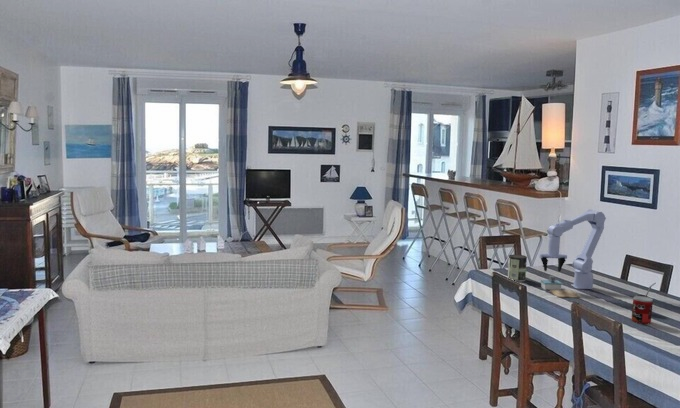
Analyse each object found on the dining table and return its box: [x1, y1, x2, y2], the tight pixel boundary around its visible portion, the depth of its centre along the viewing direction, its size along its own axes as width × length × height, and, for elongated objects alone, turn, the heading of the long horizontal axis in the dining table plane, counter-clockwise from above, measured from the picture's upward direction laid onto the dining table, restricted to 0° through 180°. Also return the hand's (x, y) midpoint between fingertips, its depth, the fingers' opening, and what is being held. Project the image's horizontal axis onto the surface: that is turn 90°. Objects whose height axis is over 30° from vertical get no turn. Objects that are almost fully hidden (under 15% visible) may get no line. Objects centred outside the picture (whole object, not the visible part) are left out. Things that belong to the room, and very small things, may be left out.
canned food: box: [631, 295, 654, 325], centre depth 260 cm, size 8×8×11 cm
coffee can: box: [507, 254, 528, 283], centre depth 333 cm, size 10×10×14 cm
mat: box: [549, 289, 581, 299], centre depth 303 cm, size 12×12×1 cm
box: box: [540, 281, 562, 291], centre depth 315 cm, size 9×6×3 cm, turn 89°
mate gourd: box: [635, 282, 657, 298], centre depth 274 cm, size 8×8×15 cm
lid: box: [540, 275, 563, 286], centre depth 315 cm, size 10×7×4 cm
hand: (552, 270), depth 314 cm, fingers open, 7 cm apart
